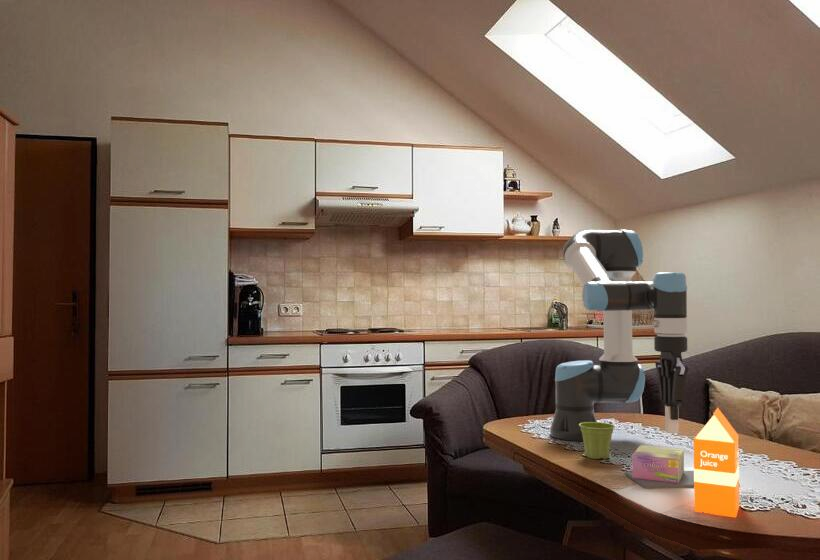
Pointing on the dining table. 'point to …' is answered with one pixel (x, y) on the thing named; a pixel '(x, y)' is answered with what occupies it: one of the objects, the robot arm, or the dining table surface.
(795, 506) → the dining table surface
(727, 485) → the orange juice
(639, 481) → the mat
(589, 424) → the plant pot
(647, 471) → the box
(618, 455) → the dining table surface
